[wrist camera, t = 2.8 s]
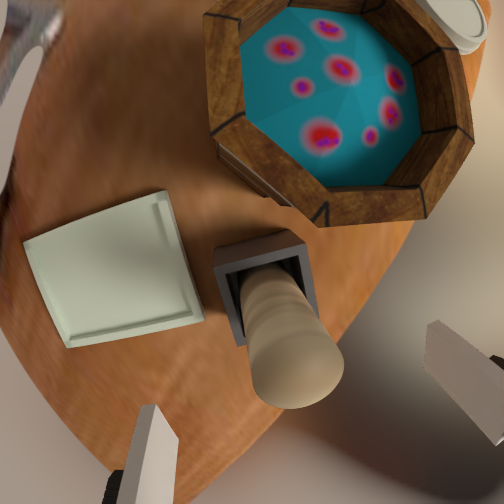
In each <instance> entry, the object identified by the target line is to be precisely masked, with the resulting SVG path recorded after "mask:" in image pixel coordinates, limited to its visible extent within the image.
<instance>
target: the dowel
mask: <svg viewBox="0 0 504 504" xmlns="http://www.w3.org/2000/svg"><path fill="white" fill-rule="evenodd" d="M237 282H238V289H239V296H240V303H241V310H242V316H243V323H244V330H245V336H246V343H247V350H248V356H249V363H250V369H251V375H252V382H253V387H254V390H255V392H256V394H257V395H258V396H259V398H260V399H261V400H263V401H264V402H265V403H267V404H269V405H271V406H274V407H278V408H284V409H294V408H301V407H305V406H308V405H311V404H313V403H315V402H318V401H319V400H321V399H322V398H324V397H325V396H327V395H328V394H329V393H330V392H331V391H332V390H333V389H334V388H335V387H336V385H337V384H338V382H339V381H340V379H341V377H342V374H343V369H344V360H343V357H342V354H341V352H340V351H339V349H338V348H337V346H336V344H335V343H334V341H333V340H332V338H331V336H330V335H329V333H328V332H327V330H326V329H325V327H324V326H323V324H322V322H321V321H320V319H319V318H318V316H317V315H316V313H315V312H314V310H313V308H312V307H311V305H310V304H309V302H308V301H307V299H306V298H305V296H304V295H303V293H302V292H301V290H300V289H299V287H298V286H297V284H296V282H295V281H294V279H293V278H292V276H291V275H290V273H289V272H288V270H287V269H286V267H285V266H284V264H283V263H282V261H281V260H277V261H273V262H270V263H266V264H262V265H258V266H255V267H251V268H247V269H243V270H239V271H238V273H237Z"/></svg>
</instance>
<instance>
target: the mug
mask: <svg viewBox="0 0 504 504" xmlns="http://www.w3.org/2000/svg"><path fill="white" fill-rule="evenodd" d="M203 30H204V50H205V68H206V84H207V98H208V112H209V126H210V136H211V137H213V138H214V139H215V145H216V152H217V159H218V160H219V161H220V162H221V163H223V164H224V165H225V166H226V167H228V168H229V169H230V170H231V171H233V172H234V173H235V174H236V175H237V176H239V177H240V178H241V179H242V180H243V181H245V182H246V183H247V184H248V185H249V186H251V187H252V188H253V189H254V190H255V191H257V192H258V193H259V194H260V195H261V196H263V197H264V198H266V197H271V198H272V199H273V200H275V201H276V202H277V203H278V204H279V205H280V206H289V207H294V208H296V209H298V210H299V211H300V212H301V213H302V214H304V215H305V216H306V217H307V218H308V219H309V220H310V221H311V222H312V223H313V224H315V225H316V226H317V227H318V228H323V227H334V226H346V225H358V224H370V223H382V222H395V221H408V220H420V219H426V218H427V217H428V215H429V214H430V212H431V211H432V210H433V208H434V207H435V205H436V204H437V202H438V201H439V200H440V198H441V197H442V195H443V193H444V192H445V191H446V189H447V188H448V186H449V185H450V183H451V182H452V180H453V178H454V177H455V175H456V174H457V172H458V170H459V169H460V167H461V166H462V164H463V162H464V161H465V159H466V157H467V156H468V154H469V152H470V150H471V149H472V147H473V145H474V144H475V142H474V131H473V122H472V115H471V107H470V100H469V94H468V89H467V83H466V78H465V74H464V69H463V65H462V61H461V57H460V53H459V49H458V48H457V47H456V45H455V44H454V43H453V42H452V40H451V39H450V38H449V37H448V36H447V35H446V33H445V32H444V31H443V30H442V29H441V28H440V27H439V25H438V24H437V23H436V22H435V21H434V20H433V19H432V18H431V17H430V16H429V15H428V14H427V12H426V11H425V10H424V9H423V8H422V7H421V6H420V5H419V4H418V3H417V2H416V1H414V0H221V1H219V2H218V3H217V4H215V5H214V6H213V7H212V8H211V9H209V10H208V11H207V12H206V13H204V14H203Z"/></svg>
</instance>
